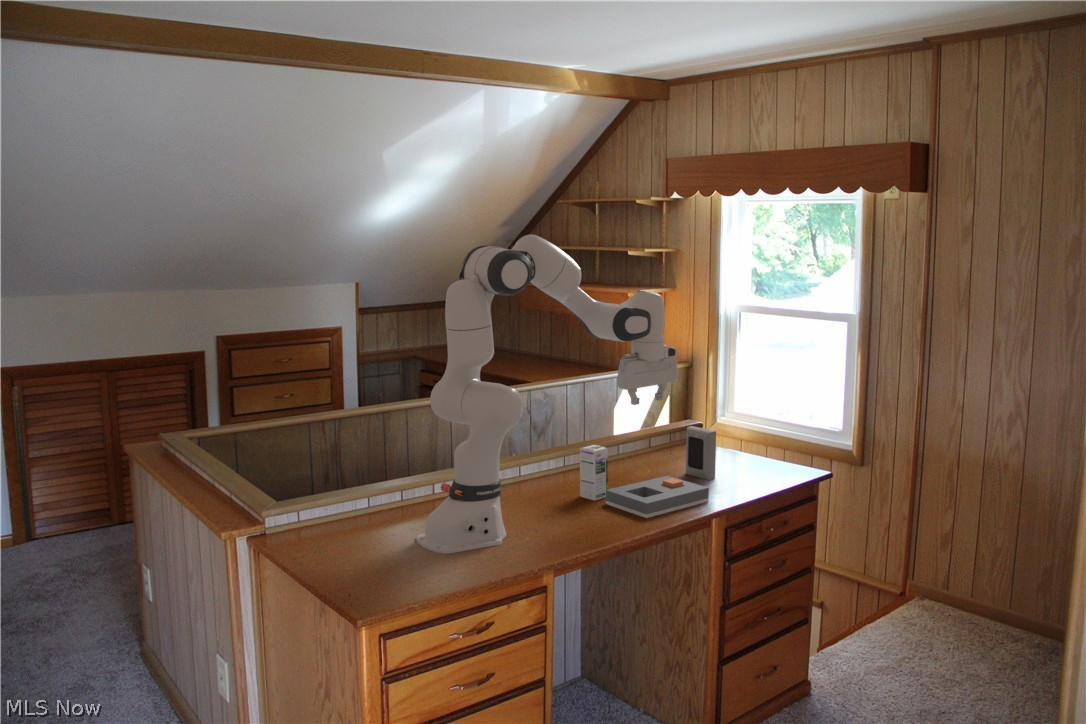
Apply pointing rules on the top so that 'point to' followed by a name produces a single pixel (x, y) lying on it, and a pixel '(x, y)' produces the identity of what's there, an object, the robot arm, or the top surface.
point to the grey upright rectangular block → (700, 452)
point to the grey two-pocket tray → (656, 497)
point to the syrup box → (593, 472)
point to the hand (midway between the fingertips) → (647, 402)
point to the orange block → (672, 483)
